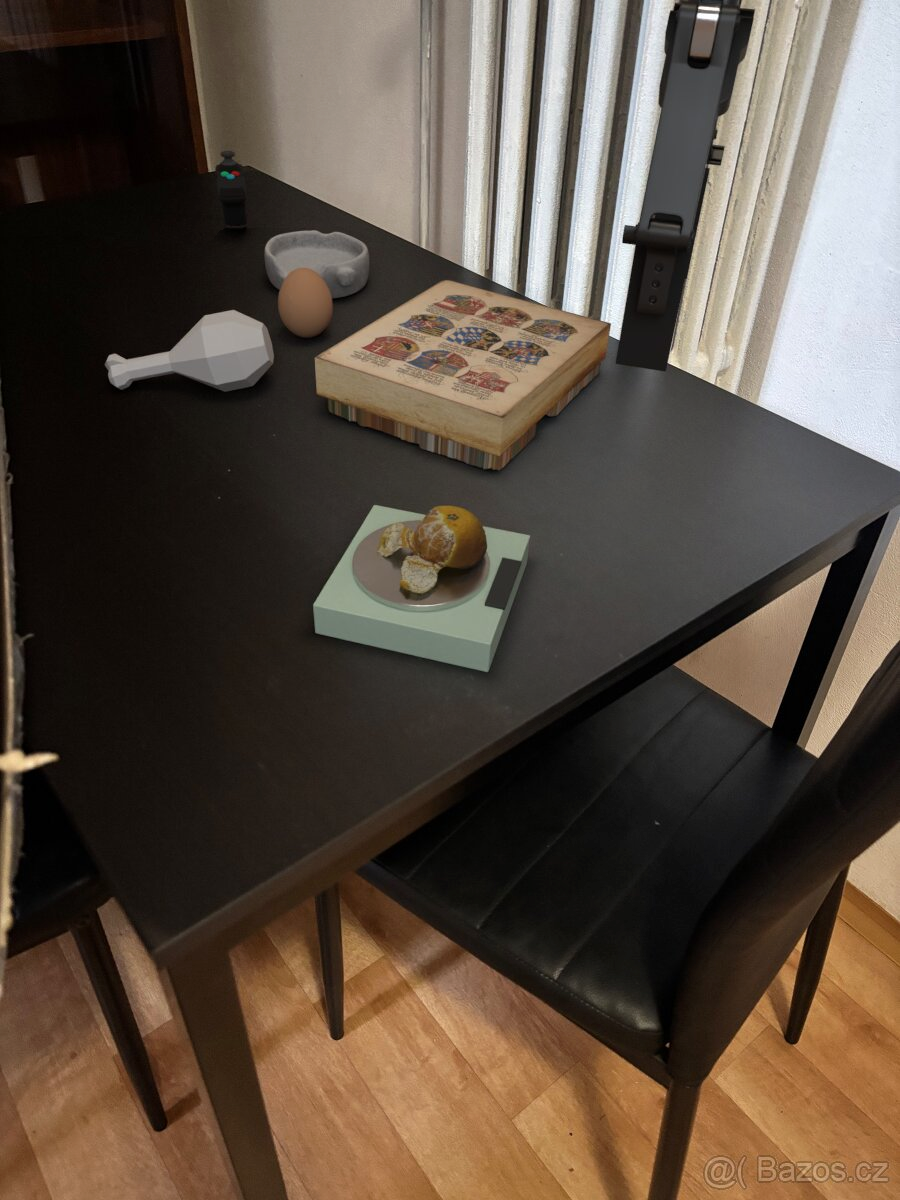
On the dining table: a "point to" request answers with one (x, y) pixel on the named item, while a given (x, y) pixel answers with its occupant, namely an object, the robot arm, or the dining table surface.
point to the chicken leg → (206, 355)
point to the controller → (231, 190)
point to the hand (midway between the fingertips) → (654, 315)
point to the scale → (427, 634)
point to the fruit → (436, 545)
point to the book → (463, 371)
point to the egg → (305, 303)
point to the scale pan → (385, 576)
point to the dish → (319, 259)
